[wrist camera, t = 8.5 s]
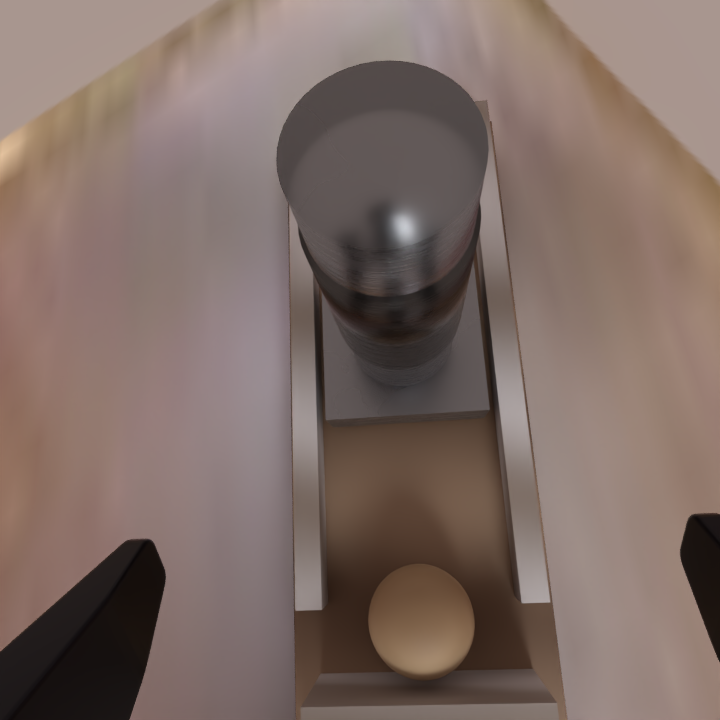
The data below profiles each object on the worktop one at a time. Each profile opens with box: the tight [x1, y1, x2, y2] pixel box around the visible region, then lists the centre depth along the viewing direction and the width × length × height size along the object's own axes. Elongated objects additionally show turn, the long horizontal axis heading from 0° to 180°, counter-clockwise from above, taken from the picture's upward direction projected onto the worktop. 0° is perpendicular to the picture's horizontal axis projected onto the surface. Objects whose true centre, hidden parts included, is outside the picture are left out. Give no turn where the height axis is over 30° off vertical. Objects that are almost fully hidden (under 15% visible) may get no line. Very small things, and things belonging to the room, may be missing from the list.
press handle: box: [277, 61, 490, 427], centre depth 14 cm, size 5×5×11 cm
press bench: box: [288, 100, 567, 720], centre depth 18 cm, size 23×8×4 cm, turn 3°
